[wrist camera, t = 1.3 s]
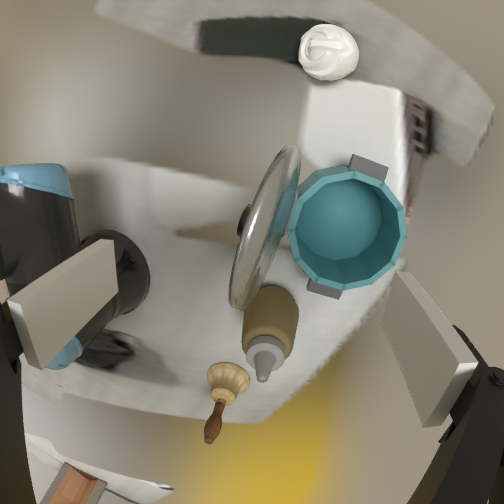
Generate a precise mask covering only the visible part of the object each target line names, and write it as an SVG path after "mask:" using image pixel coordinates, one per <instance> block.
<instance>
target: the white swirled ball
mask: <svg viewBox="0 0 504 504" xmlns="http://www.w3.org/2000/svg"><path fill="white" fill-rule="evenodd" d="M358 59H359V51H358V47H357V44H356V42H355V40H354V38H353V37H352V36H351V35H350V34H349V33H348V32H347V31H346V30H344V29H342V28H340V27H338V26H335V25H331V24H321V25H316V26H314V27H312V28H311V29H310V30H309V31H307V32H306V33H305V34H304V35H303V36H302V38H301V43H300V48H299V62H300V63H301V65H302V66H303V69H304V71H305V72H307V73H308V74H309V75H311V76H312V77H314V78H317V79H319V80H338V79H341V78H343V77H345V76H347V75H348V74H349V73H351V72H352V71H354V70H355V68H356V66H357V63H358Z"/></svg>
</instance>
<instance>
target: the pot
mask: <svg viewBox="0 0 504 504" xmlns="http://www.w3.org/2000/svg"><path fill="white" fill-rule="evenodd" d="M388 168H389V167H386V166H384V165H381V164H378V163H376V162H373V161H371V160H368V159H365V158H363V157H360V156H357V155H355V154H352V157H351V160H350V163H349V166H348V167H345V166H343V165H341V166H336V167H331V168H326V169H321V170H316V171H315V172H314V173H312V174H311V175H310V176H309V177H308V178H307V179H306V180H305V181H304V182H303V183H301V184H300V185H299V186H298V187H297V189H296V193H295V194H296V197H295V201H294V204H293V207H292V210H291V213H290V217H289V220H288V223H287V226H286V229H285V232H284V235H286V232H288V237H289V241H290V245H291V250H292V254H293V258H294V261H295V262H296V263H297V264H298V265H299V266H300V267H301V268H302V269H303V271H304V272H305V273H306V274H307V275H308V276H309V277H310V279H309V281H308V284H307V291H311V292H314V293H318V294H321V295H325V296H328V297H331V298H335V299H338V300H339V298H340V296H341V294H342V291H343V290H347V289H352V288H357V287H362V286H366V285H371V284H373V283H374V282H375V281H376V280H378V279H379V278H380V277H381V276H383V275H384V274H385V273H386V272H387V271H389V270H390V269H391V268H392V267H393V266H395V264H396V261H397V259H398V257H399V254H400V252H401V249H402V247H403V245H404V242H405V239H406V238H407V237H406V228H405V219H404V211H403V206H402V205H401V203H400V202H399V201H398V199H397V198H396V197H395V195H394V194H393V193H392V192H391V190H390V189H389V188H388V186H387V185H386V184H385V182H384V181H385V178H386V175H387V172H388Z"/></svg>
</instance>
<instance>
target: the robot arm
mask: <svg viewBox="0 0 504 504" xmlns="http://www.w3.org/2000/svg"><path fill="white" fill-rule="evenodd" d="M74 200H75V199H74V196H73V195H72V190H71V184H70V177H69V173H68V171H67V169H66V168H65V167H64V166H62V165H60V164H56V163H35V164H21V165H12V166H8V167H1V168H0V280H3V279H5V280H6V283H7V287H8V290H9V294H10V297H8V298H7V299H6V300H5V302H4V303H3V304H1V303H0V504H36V500H35V495H34V491H33V486H32V481H31V476H30V471H29V465H28V458H27V451H26V444H25V435H24V426H23V412H22V390H21V362H20V359H19V356H20V355H21V354H22V353H24V354H25V357H26V359H27V362H28V364H29V365H31V366H33V367H36V368H38V369H40V370H43V369H44V368H45V367H46V368H49V369H53V370H60V369H64V368H66V367H67V366H68V365H70V364H71V363H72V362H73V361H74V360H75V359H76V358H77V357H79V356H81V354H82V352H83V351H84V350H85V349H86V348H87V347H88V345H89V344H90V343H91V342H92V341H93V340H94V339H95V337H96V336H97V335H98V334H99V333H100V332H101V331H102V329H103V328H104V327H105V326H106V325H107V324H108V323H109V322H110V321H111V319H113V318H115V317H117V316H119V315H123V314H127V313H129V312H131V311H133V310H134V309H135V308H137V307H138V306H139V305H140V303H141V302H142V301H143V300H144V299H145V297H146V295H147V293H148V290H149V285H150V275H149V269H148V266H147V263H146V260H145V258H144V256H143V255H142V253H141V251H140V250H139V249H138V247H137V246H136V245H135V244H134V243H133V242H132V241H131V240H130V239H129V238H127V237H126V236H124V235H122V234H120V233H118V232H115V231H112V230H100V231H97V232H94V233H92V234H91V235H89V236H87V237H85V238H84V239H83V240H82V241H81V242H80V240H79V235H78V228H77V222H76V215H75V208H74ZM381 325H382V327H383V329H384V332H385V334H386V336H387V338H388V341H389V343H390V345H391V348H392V350H393V352H394V354H395V357H396V359H397V362H398V364H399V367H400V369H401V371H402V374H403V376H404V379H405V381H406V384H407V386H408V389H409V391H410V394H411V397H412V399H413V402H414V405H415V407H416V410H417V413H418V415H419V418H420V421H421V423H422V427H423V428H424V427H432V426H440V425H442V423H443V422H444V421H445V419H446V417H447V416H448V414H449V413H450V415H451V417H452V419H453V422H452V423H451V425H450V426H449V428H448V429H447V431H446V432H445V433H444V435H443V436H442V438H441V439H440V440H439V441H438V442H439V443H441V444H440V447H439V448H438V451H437V452H436V454H435V456H434V458H433V460H432V462H431V464H430V466H429V468H428V470H427V471H426V473H425V475H424V477H423V478H422V480H421V482H420V483H419V485H418V487H417V488H416V490H415V492H414V493H413V495H412V497H411V498H410V500H409V501H408V503H407V504H487V501H488V499H489V503H488V504H504V370H502V369H500V368H497V367H488V365H487V364H486V362H485V361H484V360H483V358H482V357H481V355H480V354H479V352H478V351H477V350H476V348H474V345H473V344H472V343H471V342H469V339H468V337H467V336H466V335H465V333H464V332H463V331H461V330H460V329H459V328H457V327H456V326H454V325H451V323H450V322H449V321H448V319H447V318H446V317H445V316H444V315H443V313H442V312H441V310H440V309H439V308H438V307H437V305H436V304H435V303H434V301H433V300H432V299H431V298H430V296H429V295H428V294H427V293H426V291H425V290H424V289H423V288H422V287H421V285H420V284H419V283H418V282H417V280H416V279H415V278H414V277H413V276H412V274H411V273H410V272H400V271H395V274H394V278H393V282H392V286H391V289H390V293H389V297H388V300H387V304H386V307H385V311H384V314H383V318H382V321H381Z"/></svg>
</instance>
